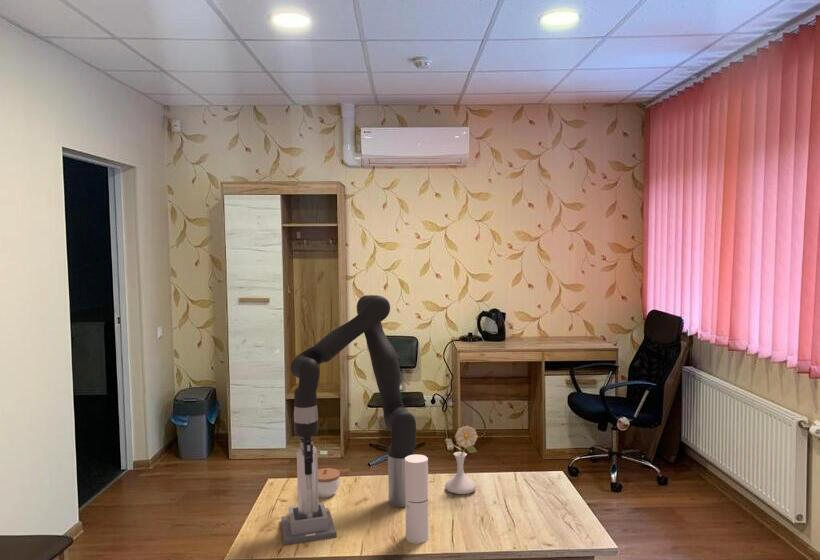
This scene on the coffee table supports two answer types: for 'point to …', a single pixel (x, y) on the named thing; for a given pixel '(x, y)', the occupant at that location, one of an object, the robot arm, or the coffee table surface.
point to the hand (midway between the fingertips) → (307, 470)
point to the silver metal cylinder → (307, 487)
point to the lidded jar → (328, 482)
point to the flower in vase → (462, 462)
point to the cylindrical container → (416, 498)
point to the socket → (307, 526)
